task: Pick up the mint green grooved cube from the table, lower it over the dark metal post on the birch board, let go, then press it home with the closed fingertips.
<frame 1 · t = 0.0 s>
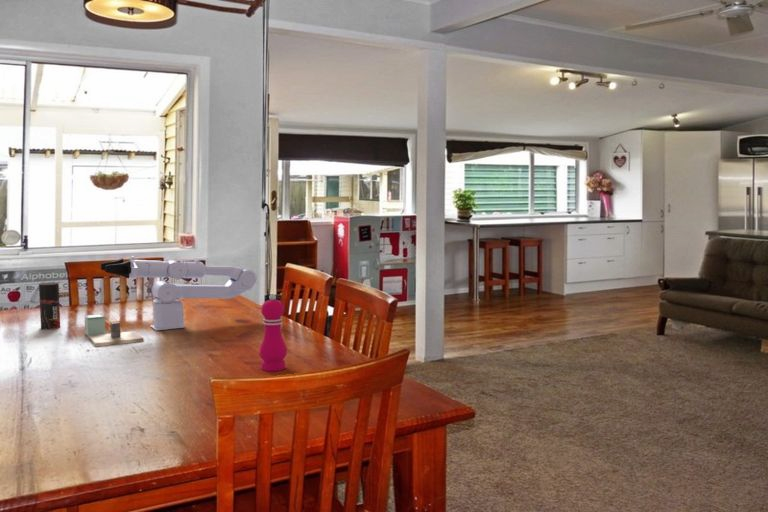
hand: (103, 267, 220), 22 cm above the table, tool horizontal, fingers open, 7 cm apart
pepper mill: (273, 369, 181), on the table
deodorant: (50, 328, 231), on the table
mint green grooved cube: (95, 334, 221), on the table
board: (115, 340, 213), on the table
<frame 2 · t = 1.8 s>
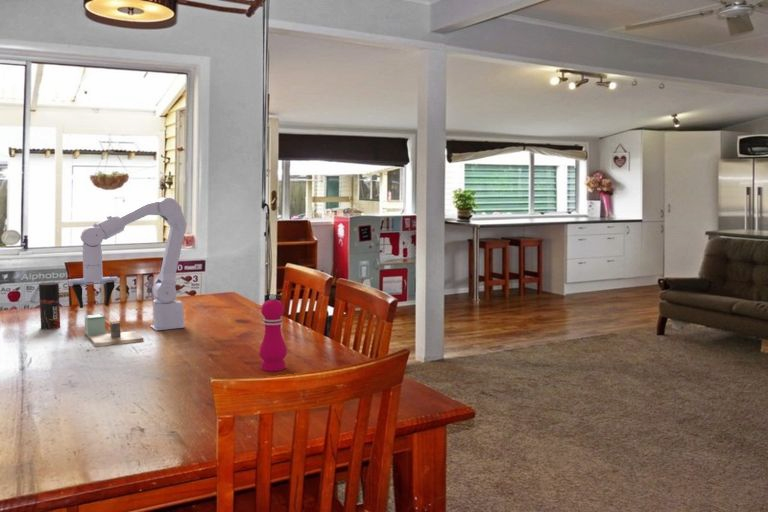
hand: (94, 306, 220), 9 cm above the table, tool pointing down, fingers open, 7 cm apart
nothing on the table moved.
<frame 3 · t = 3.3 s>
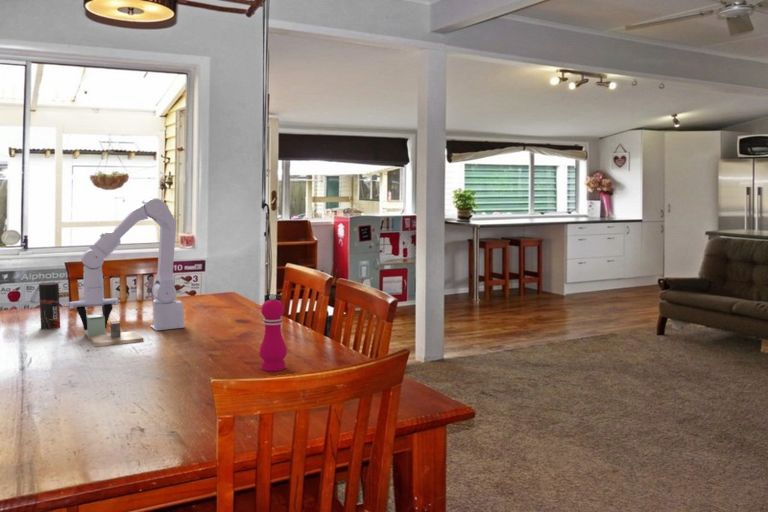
hand: (95, 328, 221), 2 cm above the table, tool pointing down, fingers closed on mint green grooved cube, 5 cm apart
mint green grooved cube: (95, 334, 221), on the table, touching gripper
everything else where it was.
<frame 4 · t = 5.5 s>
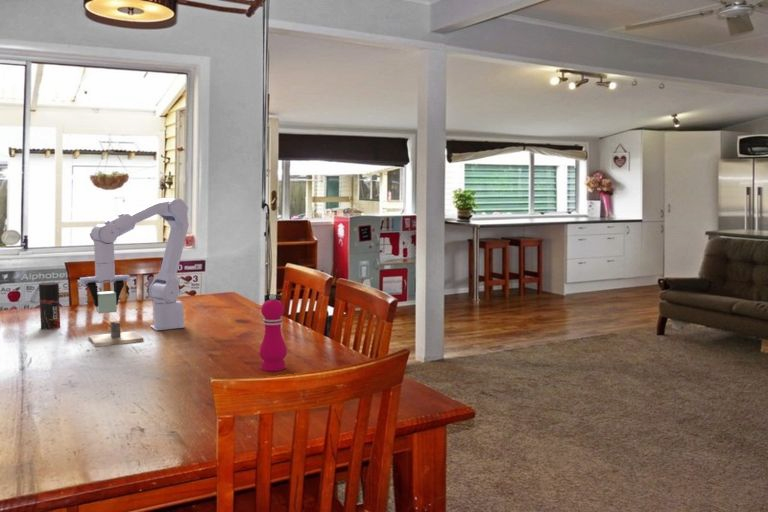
hand: (106, 305, 215), 10 cm above the table, tool pointing down, fingers closed on mint green grooved cube, 5 cm apart
mint green grooved cube: (106, 311, 215), point 8 cm above the table, touching gripper
everything else where it was.
when the fingers open (4 cm above the table, at t = 7.7 s): mint green grooved cube stays where it is, resting on board.
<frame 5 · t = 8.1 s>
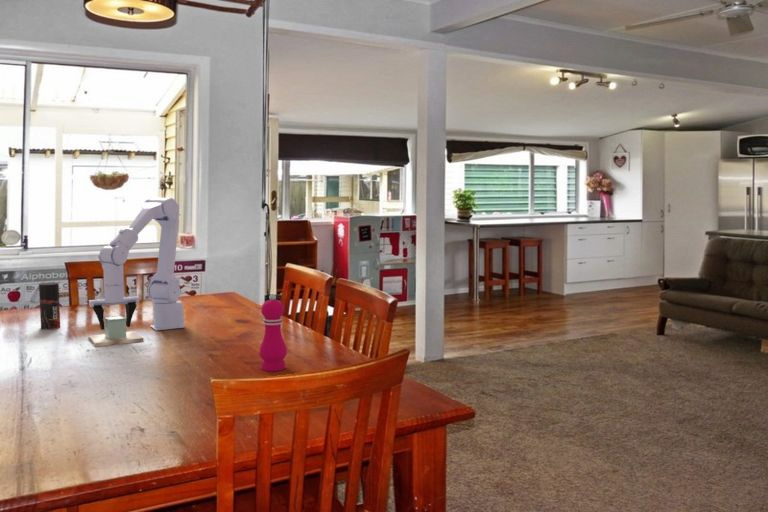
hand: (115, 327, 213), 4 cm above the table, tool pointing down, fingers open, 7 cm apart
mint green grooved cube: (115, 336, 213), point 1 cm above the table, touching board
everything else where it was.
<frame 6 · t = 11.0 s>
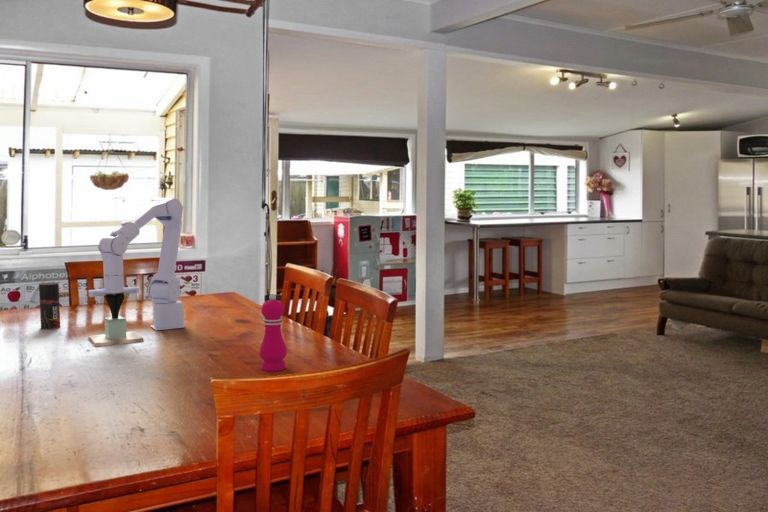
hand: (115, 318, 212), 7 cm above the table, tool pointing down, fingers closed
nothing on the table moved.
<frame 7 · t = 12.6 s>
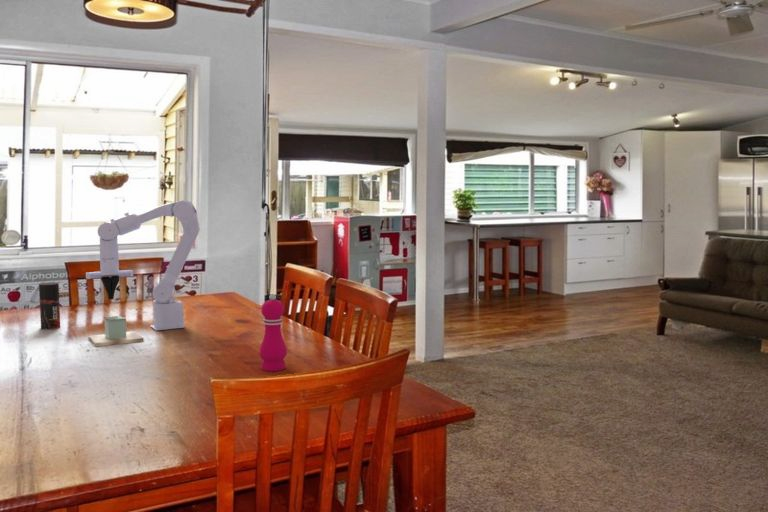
hand: (110, 298, 227), 10 cm above the table, tool pointing down, fingers closed
nothing on the table moved.
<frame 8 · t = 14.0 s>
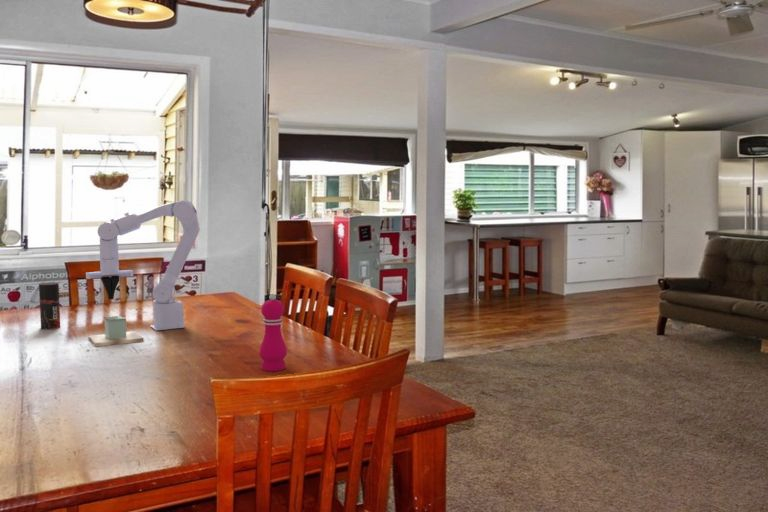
hand: (110, 298, 227), 10 cm above the table, tool pointing down, fingers closed
nothing on the table moved.
at the end: mint green grooved cube 0.1 cm from the board (horizontally); mint green grooved cube point 1.0 cm above the table; mint green grooved cube tilted 0° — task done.
